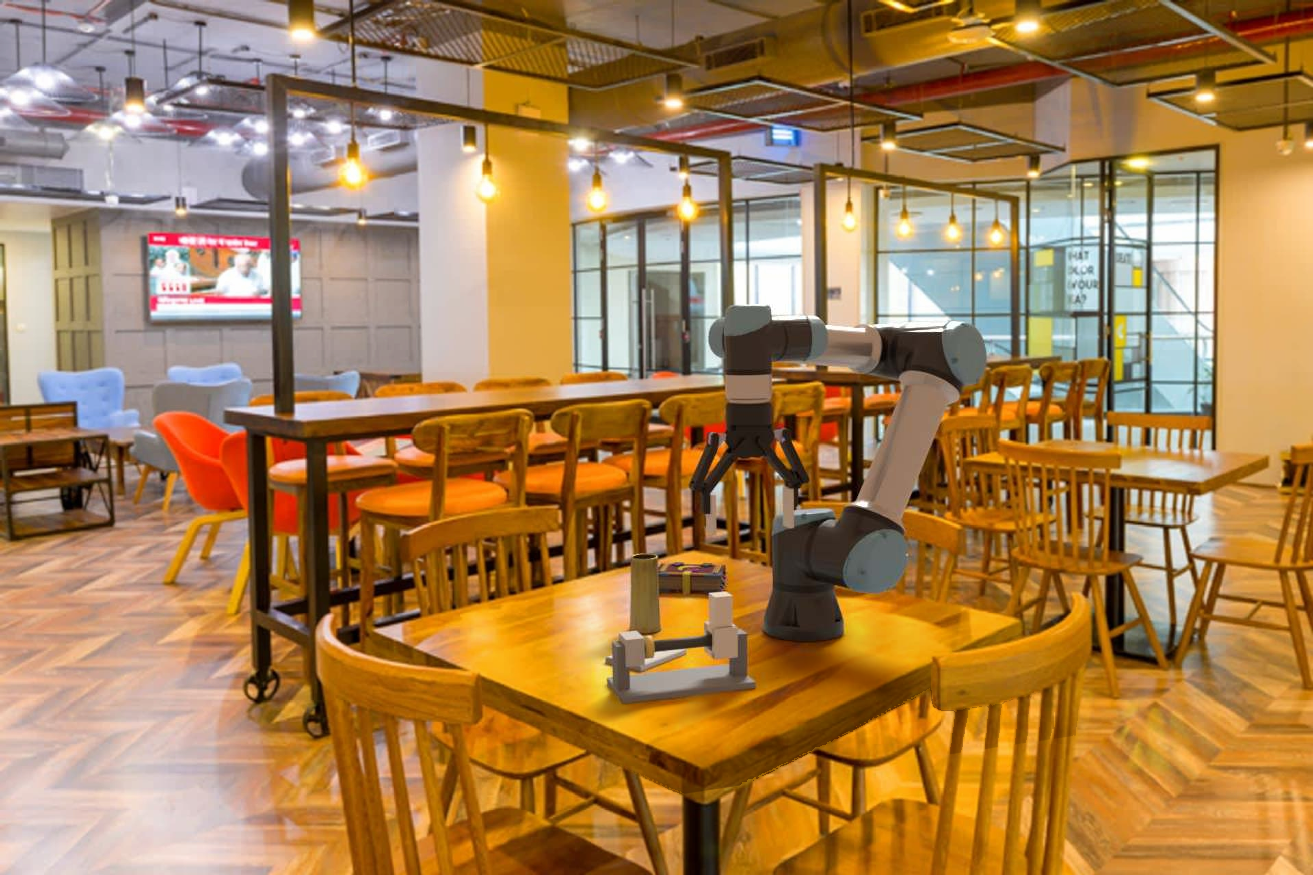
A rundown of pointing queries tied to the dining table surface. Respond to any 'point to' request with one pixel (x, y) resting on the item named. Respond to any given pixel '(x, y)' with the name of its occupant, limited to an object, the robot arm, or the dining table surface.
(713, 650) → the stacked pale cubes
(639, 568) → the vase
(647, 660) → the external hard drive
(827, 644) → the dining table surface
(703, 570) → the decorative book
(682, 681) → the cord rail
